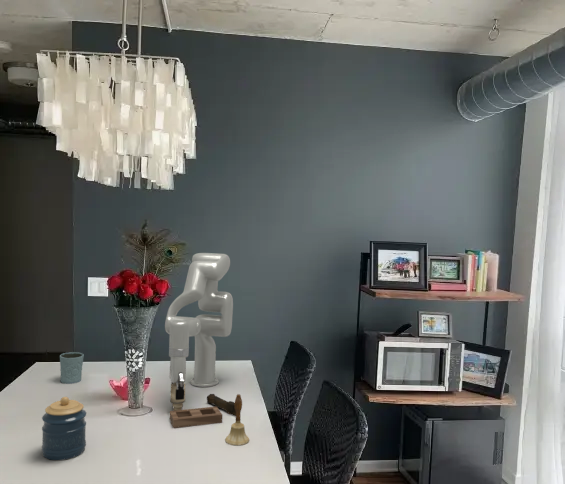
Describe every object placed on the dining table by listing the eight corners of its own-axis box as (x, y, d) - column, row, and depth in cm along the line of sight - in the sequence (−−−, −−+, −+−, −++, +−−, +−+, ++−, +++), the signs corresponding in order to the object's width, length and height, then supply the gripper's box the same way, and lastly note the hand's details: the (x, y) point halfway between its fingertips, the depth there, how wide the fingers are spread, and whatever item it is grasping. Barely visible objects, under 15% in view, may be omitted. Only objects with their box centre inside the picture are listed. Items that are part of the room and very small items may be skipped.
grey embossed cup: (65, 377, 240) (66, 351, 240) (87, 378, 240) (87, 352, 239) (55, 384, 230) (55, 357, 230) (77, 385, 230) (78, 358, 229)
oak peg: (169, 408, 205) (169, 383, 205) (183, 406, 208) (184, 382, 207) (171, 413, 200) (172, 387, 200) (186, 411, 202) (186, 386, 202)
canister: (63, 440, 173) (64, 388, 173) (94, 447, 169) (95, 393, 168) (32, 456, 161) (32, 400, 160) (64, 464, 156) (65, 406, 156)
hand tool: (206, 404, 212) (206, 392, 212) (214, 402, 215) (214, 391, 214) (231, 418, 197) (231, 406, 197) (240, 416, 200) (240, 404, 200)
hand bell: (253, 442, 176) (254, 396, 175) (231, 447, 172) (232, 400, 171) (243, 433, 183) (244, 389, 182) (221, 438, 179) (222, 392, 178)
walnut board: (169, 419, 194) (169, 411, 194) (216, 413, 201) (216, 406, 201) (173, 428, 186) (173, 419, 186) (222, 422, 192) (222, 414, 192)
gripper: (165, 347, 209) (164, 389, 210) (172, 358, 193) (171, 403, 194) (184, 346, 212) (183, 388, 213) (192, 356, 196) (191, 401, 196)
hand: (177, 395), depth 203 cm, fingers open, 9 cm apart
